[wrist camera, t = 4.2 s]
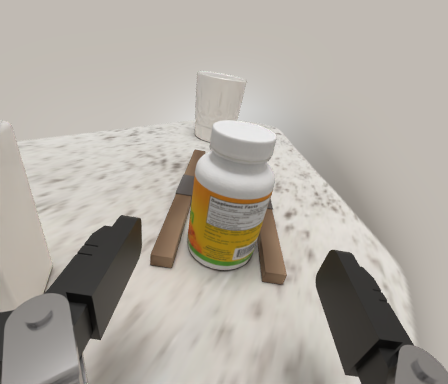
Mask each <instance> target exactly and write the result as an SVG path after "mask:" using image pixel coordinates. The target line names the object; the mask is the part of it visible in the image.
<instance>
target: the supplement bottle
mask: <svg viewBox="0 0 448 384" xmlns="http://www.w3.org/2000/svg"><path fill="white" fill-rule="evenodd" d="M275 143H276V135H275V134H274V133H273V132H272V131H270V130H269V129H267V128H264V127H262V126H259V125H256V124H252V123H248V122H242V121H234V120H223V121H218V122H216V123H214V124H213V126H212V132H211V139H210V149H211V151H210V152H208V153H206V154H204V155H203V156H202V157H201V158H200V159H199V160H198V162H197V165H196V170H195V177H194V186H193V194H192V203H191V211H190V221H189V230H188V241H187V242H188V248H189V250H190V252H191V254H192V255H193V257H194V258H195V259H196V260H197V261H199V262H200V263H202V264H203V265H205V266H207V267H210V268H213V269H219V270H230V269H235V268H238V267H241V266H243V265H244V264H245V263H247V262H248V261H249V259H250V258H251V256H252V254H253V251H254V248H255V245H256V242H257V239H258V236H259V233H260V229H261V226H262V223H263V220H264V217H265V213H266V210H267V207H268V204H269V201H270V198H271V195H272V191H273V187H274V183H275V174H274V171H273V169H272V168H271V166H270V165H269V164H268V163H267V161H269V160H270V158H271V156H272V155H273V151H274V146H275Z"/></svg>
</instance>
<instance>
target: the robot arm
mask: <svg viewBox="0 0 448 384" xmlns="http://www.w3.org/2000/svg"><path fill="white" fill-rule="evenodd" d="M141 248H142V231H141V219H140V218H136V217H130V216H124V215H121V216H120V217H119V218H118V219H117V221H116V222H115V223H114V225H113V226H112V227H110V226H103V227H102V228H100V229H99V230H97V231H96V232H94V233H93V234H92V235H91V236H90V237H89V239H88V240H87V241H86V242H85V244H84V246H82V248H81V249H80V250H79V251H78V254H77V255H75V256H74V258H73V259H72V260H71V261H70V263H69V264H68V265H67V266H66V268H65V269H64V270H63V272H62V273H61V274H60V275H59V277H58V278H57V279H56V280H55V282H54V283H53V284H52V285H51V287H50V288H49V289H48V290H47V291H46V292H45V293H44V294H42V295H38V296H35V297H33V298H31V299H29V300H27V301H25V302H24V303H22V304H21V305H20V306H18V307H17V308H16V309H15V310H11V311H6V312H0V384H88V380H87V374H86V369H85V363H84V357H83V351H84V349H85V347H86V345H87V343H88V341H89V339H97V340H101V338H102V336H103V334H104V332H105V330H106V327H107V325H108V323H109V321H110V319H111V317H112V315H113V313H114V310H115V308H116V306H117V304H118V302H119V300H120V298H121V296H122V294H123V291H124V289H125V287H126V285H127V283H128V281H129V279H130V277H131V275H132V272H133V270H134V268H135V266H136V264H137V262H138V260H139V257H140V253H141ZM316 288H317V291H318V294H319V297H320V300H321V303H322V306H323V309H324V312H325V315H326V318H327V321H328V324H329V327H330V330H331V333H332V336H333V339H334V342H335V345H336V348H337V351H338V354H339V357H340V360H341V363H342V366H343V369H344V372H345V375H349V376H357V377H359V379H360V381H361V384H448V372H447V371H446V370H445V368H444V367H443V366H442V365H441V364H440V363H439V362H438V361H437V360H436V359H435V358H434V357H433V356H432V355H430V354H429V353H428V352H426V351H425V350H423V349H421V348H419V347H417V346H414V344H413V343H412V341H411V340H410V338H409V336H408V335H407V333H406V331H405V330H404V328H403V326H402V325H401V323H400V321H399V320H398V318H397V316H396V315H395V313H394V311H393V310H392V308H391V306H390V305H389V303H387V300H386V298H385V296H384V295H383V293H381V290H380V288H379V286H378V285H377V283H376V281H375V280H374V278H373V277H372V276H371V275H370V274H369V273H368V272H367V271H366V270H365V269H364V268H363V267H360V266H359V264H358V262H357V261H356V259H355V257H354V255H353V254H352V253H350V252H343V251H337V250H331V251H329V253H328V255H327V256H326V258H325V260H324V262H323V264H322V265H321V267H320V269H319V271H318V273H317V275H316Z"/></svg>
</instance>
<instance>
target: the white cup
mask: <svg viewBox="0 0 448 384" xmlns="http://www.w3.org/2000/svg"><path fill="white" fill-rule="evenodd" d="M246 82H247V81H246V80H245V79H242V78H239V77H235V76H231V75H226V74H221V73H215V72H207V71H198V72H197V89H196V106H195V107H196V111H195V120H196V121H195V135H196V137H198V138H200V139H202V140H205V141H208V142H210V139H211V132H212V126H213V124H214V123H216V122H218V121H223V120H234V121H237V119H238V115H239V111H240V107H241V103H242V99H243V94H244V90H245V86H246Z"/></svg>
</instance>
